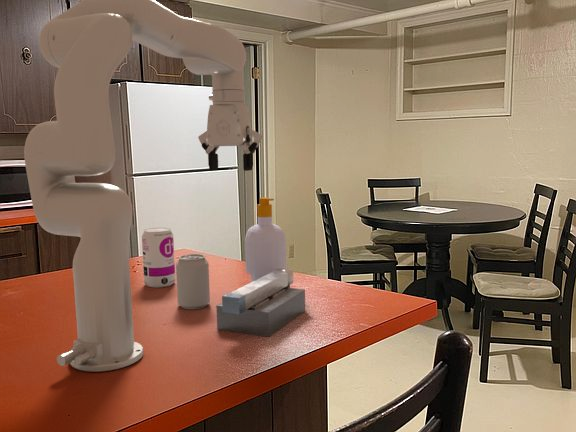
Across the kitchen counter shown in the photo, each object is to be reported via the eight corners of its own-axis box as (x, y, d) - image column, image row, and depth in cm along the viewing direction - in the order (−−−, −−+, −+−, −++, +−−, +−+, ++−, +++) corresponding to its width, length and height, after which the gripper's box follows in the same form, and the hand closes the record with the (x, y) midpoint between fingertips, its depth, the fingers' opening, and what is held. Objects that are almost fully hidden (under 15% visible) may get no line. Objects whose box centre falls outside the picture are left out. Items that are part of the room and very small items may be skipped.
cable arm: (239, 314, 108) (239, 298, 108) (222, 311, 110) (221, 296, 109) (296, 281, 132) (295, 268, 131) (280, 280, 133) (280, 267, 133)
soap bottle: (263, 301, 135) (261, 201, 132) (238, 292, 143) (235, 198, 140) (295, 292, 142) (293, 197, 139) (269, 285, 150) (267, 195, 146)
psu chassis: (269, 336, 111) (268, 311, 110) (217, 329, 116) (216, 304, 115) (312, 306, 131) (311, 283, 130) (266, 300, 136) (265, 279, 135)
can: (203, 311, 128) (201, 259, 127) (172, 309, 130) (170, 258, 128) (214, 301, 136) (212, 252, 134) (185, 300, 137) (182, 252, 136)
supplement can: (181, 282, 154) (179, 228, 152) (159, 289, 147) (157, 233, 145) (160, 279, 158) (157, 226, 156) (138, 285, 152) (135, 230, 150)
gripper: (189, 99, 135) (192, 170, 138) (252, 96, 128) (254, 171, 130) (206, 101, 142) (209, 169, 144) (267, 98, 135) (269, 169, 137)
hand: (230, 170), depth 137 cm, fingers open, 9 cm apart
